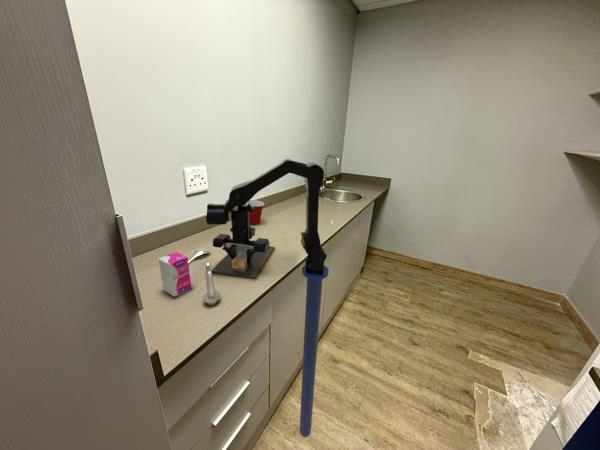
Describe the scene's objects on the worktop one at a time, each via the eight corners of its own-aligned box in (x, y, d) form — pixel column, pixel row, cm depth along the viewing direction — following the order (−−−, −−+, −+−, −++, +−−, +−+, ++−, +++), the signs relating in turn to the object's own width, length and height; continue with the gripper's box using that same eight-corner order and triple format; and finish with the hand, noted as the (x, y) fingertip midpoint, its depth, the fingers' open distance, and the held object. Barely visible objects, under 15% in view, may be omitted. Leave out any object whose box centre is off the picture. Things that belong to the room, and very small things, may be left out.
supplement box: (175, 298, 71) (169, 264, 67) (163, 291, 74) (157, 258, 70) (192, 288, 76) (187, 256, 72) (180, 282, 79) (175, 251, 75)
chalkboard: (274, 248, 104) (274, 246, 104) (255, 279, 82) (255, 276, 81) (239, 245, 106) (239, 242, 106) (211, 273, 84) (211, 271, 84)
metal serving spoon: (166, 268, 79) (156, 265, 81) (167, 278, 80) (157, 274, 82) (211, 248, 97) (202, 245, 98) (211, 256, 98) (203, 253, 99)
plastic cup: (263, 227, 128) (262, 205, 124) (242, 226, 128) (241, 204, 124) (266, 220, 138) (265, 200, 134) (247, 219, 138) (246, 199, 134)
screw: (213, 309, 67) (199, 305, 69) (224, 299, 71) (211, 295, 73) (208, 268, 63) (193, 265, 64) (220, 260, 67) (206, 257, 68)
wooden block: (252, 262, 90) (251, 253, 89) (244, 272, 83) (244, 262, 82) (240, 261, 91) (240, 251, 89) (232, 270, 84) (231, 260, 83)
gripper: (273, 218, 87) (273, 257, 93) (225, 214, 90) (228, 251, 96) (264, 229, 77) (264, 272, 82) (209, 224, 80) (213, 265, 85)
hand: (242, 264), depth 87 cm, fingers closed on wooden block, 4 cm apart
